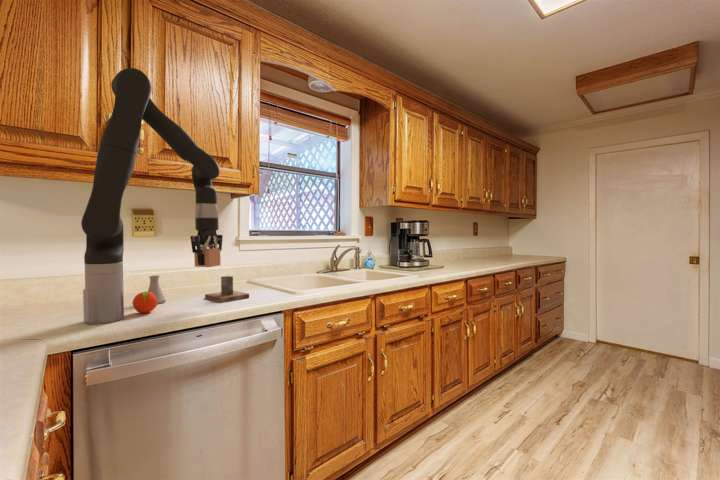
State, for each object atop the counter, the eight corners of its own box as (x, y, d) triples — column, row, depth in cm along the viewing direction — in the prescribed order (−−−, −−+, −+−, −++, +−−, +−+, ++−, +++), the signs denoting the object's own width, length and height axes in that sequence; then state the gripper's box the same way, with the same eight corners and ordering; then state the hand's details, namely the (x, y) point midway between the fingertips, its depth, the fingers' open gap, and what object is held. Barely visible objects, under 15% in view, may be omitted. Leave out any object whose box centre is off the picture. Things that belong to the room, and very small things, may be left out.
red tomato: (157, 314, 112) (157, 292, 111) (131, 317, 108) (131, 294, 108) (157, 309, 119) (157, 288, 118) (133, 311, 115) (133, 290, 115)
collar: (209, 267, 121) (208, 249, 121) (194, 266, 122) (194, 249, 122) (220, 265, 127) (220, 248, 126) (206, 264, 128) (206, 248, 128)
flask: (138, 304, 126) (138, 277, 125) (151, 300, 133) (151, 274, 133) (158, 305, 126) (158, 277, 125) (170, 300, 133) (169, 274, 132)
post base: (220, 302, 130) (220, 279, 129) (205, 298, 138) (204, 276, 137) (249, 297, 139) (248, 276, 139) (233, 293, 147) (233, 273, 146)
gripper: (201, 216, 116) (202, 266, 117) (228, 217, 130) (229, 262, 130) (182, 216, 118) (184, 266, 118) (211, 217, 132) (212, 262, 132)
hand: (207, 264), depth 124 cm, fingers closed on collar, 6 cm apart
